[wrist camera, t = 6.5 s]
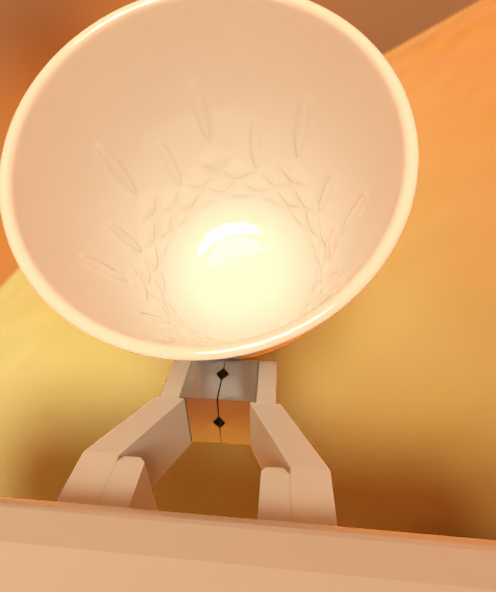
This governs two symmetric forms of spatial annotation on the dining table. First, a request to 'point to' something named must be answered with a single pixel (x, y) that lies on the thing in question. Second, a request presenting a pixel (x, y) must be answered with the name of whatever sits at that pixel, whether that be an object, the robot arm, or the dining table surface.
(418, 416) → the dining table surface
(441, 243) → the dining table surface
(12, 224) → the white cup
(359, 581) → the robot arm
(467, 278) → the dining table surface
